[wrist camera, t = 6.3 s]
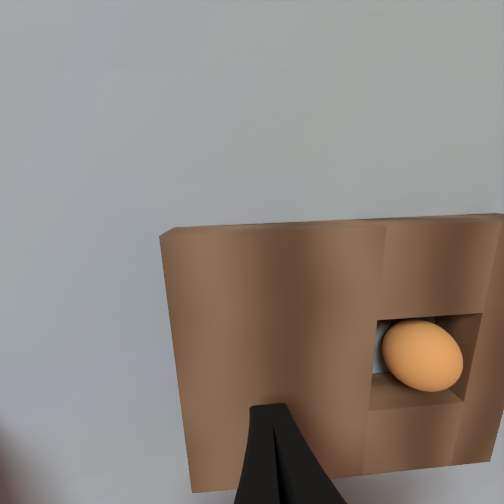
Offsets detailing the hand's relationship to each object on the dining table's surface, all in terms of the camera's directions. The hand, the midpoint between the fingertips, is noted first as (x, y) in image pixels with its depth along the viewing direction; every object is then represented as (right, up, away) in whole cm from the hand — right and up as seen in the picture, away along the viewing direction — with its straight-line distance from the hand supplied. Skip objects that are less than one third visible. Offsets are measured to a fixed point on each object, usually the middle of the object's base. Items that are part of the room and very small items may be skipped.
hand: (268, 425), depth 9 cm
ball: (+8, +1, +4) cm, 9 cm away
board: (+4, +1, +5) cm, 7 cm away
